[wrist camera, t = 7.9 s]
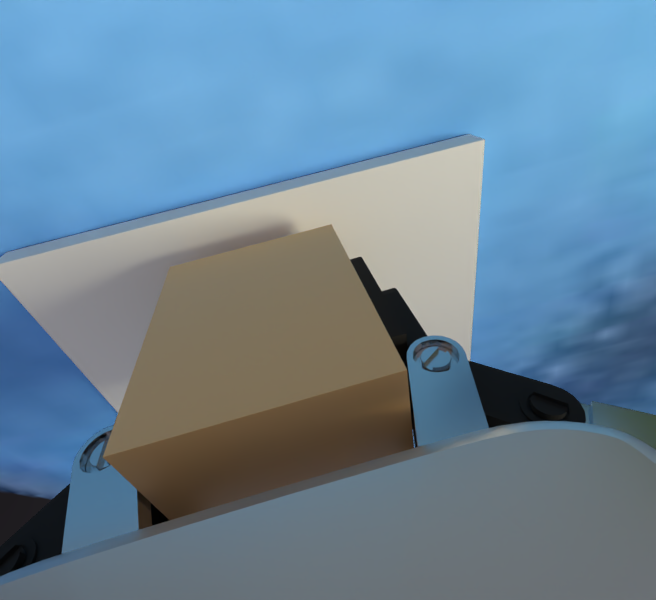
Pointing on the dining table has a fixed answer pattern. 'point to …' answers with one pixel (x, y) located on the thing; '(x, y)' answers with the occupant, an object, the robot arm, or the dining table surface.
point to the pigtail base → (256, 227)
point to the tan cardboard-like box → (259, 377)
